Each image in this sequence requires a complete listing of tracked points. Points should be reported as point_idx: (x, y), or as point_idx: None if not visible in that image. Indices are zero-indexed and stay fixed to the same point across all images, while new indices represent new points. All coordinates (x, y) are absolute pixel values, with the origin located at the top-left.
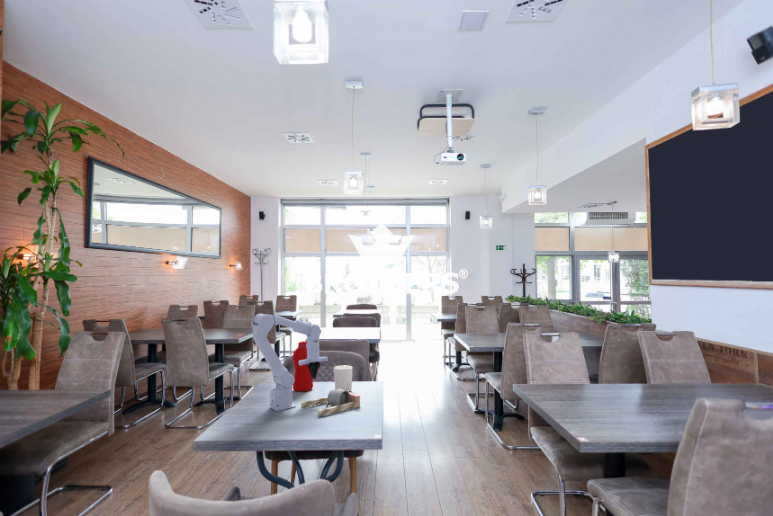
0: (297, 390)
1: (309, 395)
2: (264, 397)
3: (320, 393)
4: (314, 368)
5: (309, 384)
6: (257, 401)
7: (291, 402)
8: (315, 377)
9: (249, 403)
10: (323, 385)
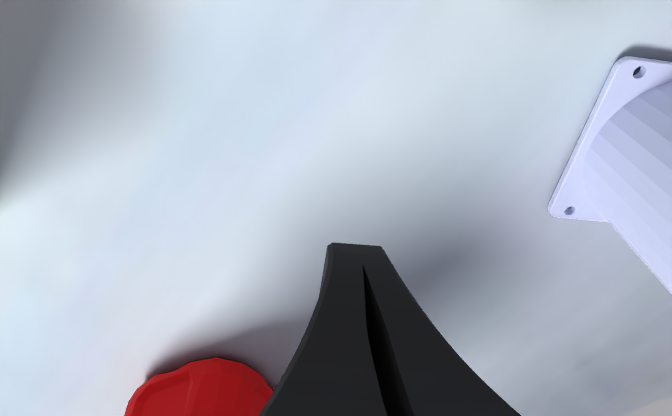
0: None
1: (264, 266)
2: None
3: (149, 250)
4: (438, 410)
5: (173, 405)
6: (605, 376)
7: (666, 106)
8: (345, 252)
9: (665, 373)
10: (19, 393)
